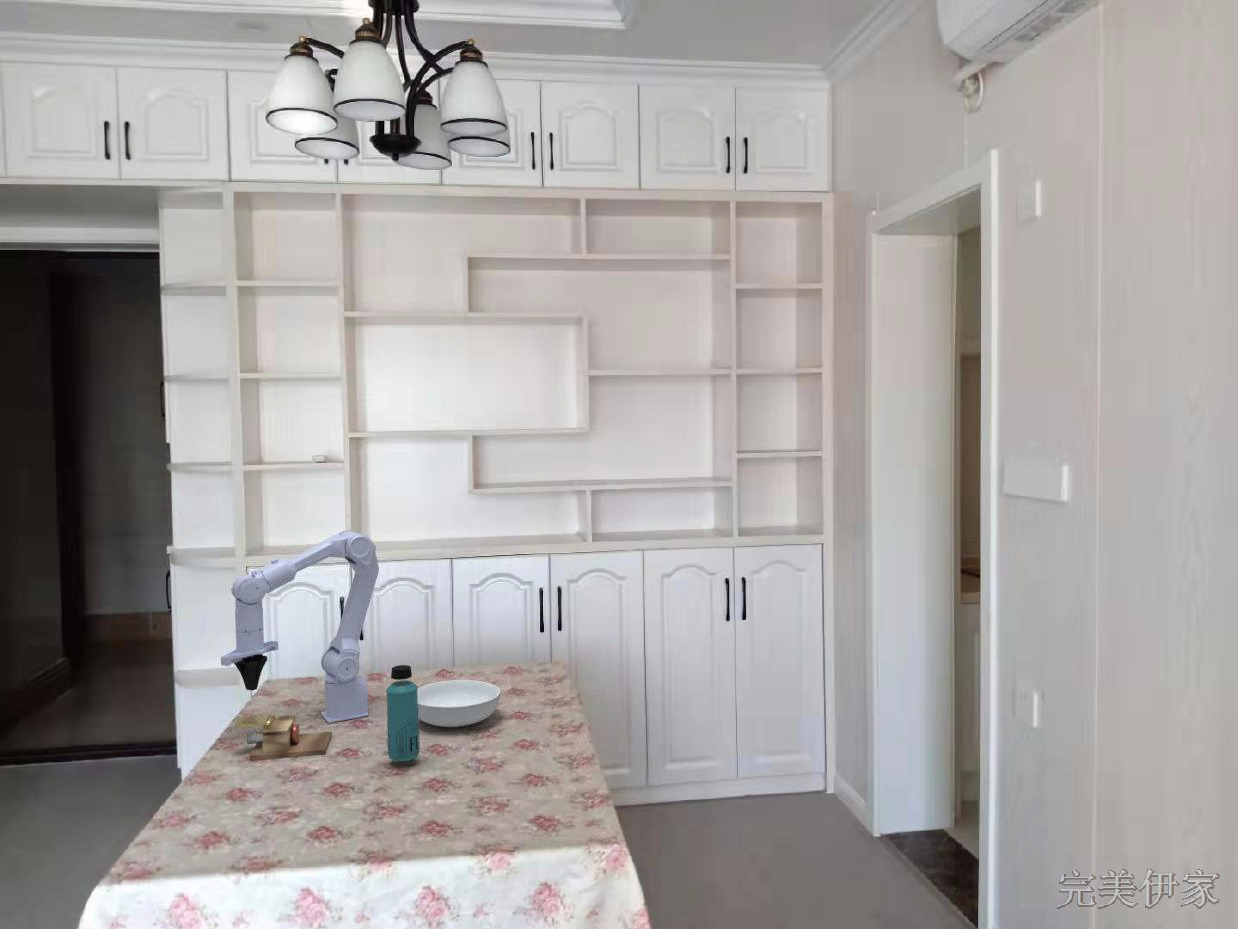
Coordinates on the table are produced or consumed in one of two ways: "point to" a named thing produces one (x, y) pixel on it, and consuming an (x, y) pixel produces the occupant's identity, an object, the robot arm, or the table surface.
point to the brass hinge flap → (253, 721)
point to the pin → (256, 735)
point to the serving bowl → (457, 702)
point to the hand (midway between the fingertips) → (251, 689)
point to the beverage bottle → (402, 716)
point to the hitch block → (288, 741)
